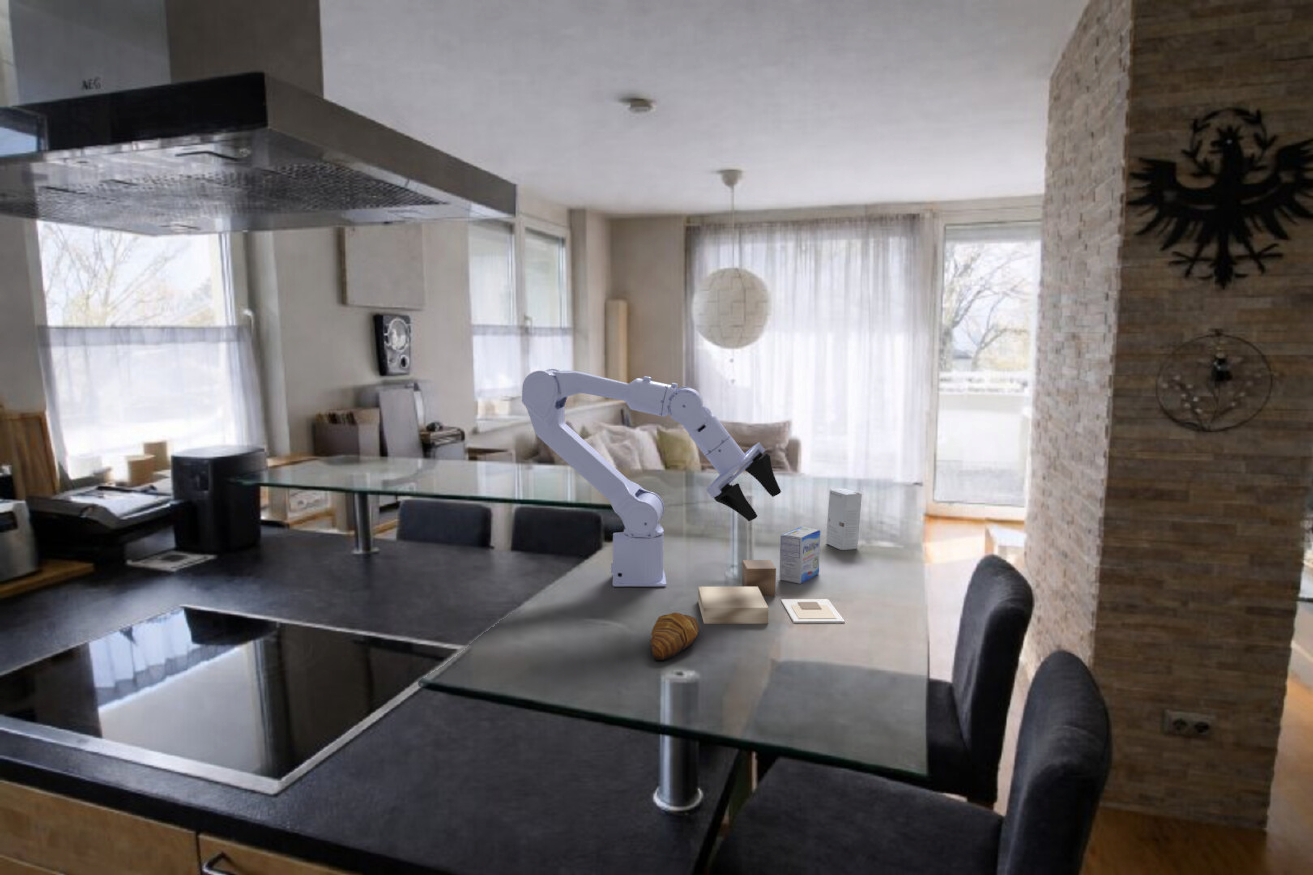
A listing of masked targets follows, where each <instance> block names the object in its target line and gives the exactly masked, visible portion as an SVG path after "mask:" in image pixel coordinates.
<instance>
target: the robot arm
mask: <svg viewBox="0 0 1313 875" xmlns="http://www.w3.org/2000/svg"><path fill="white" fill-rule="evenodd" d="M652 379H653V378H652V377H651V376H646V375H645V376H643V378H639V377H637V378H635V379H634V380H632V381H630V382H629V383H627V382H623V381H620V380H616V379H612V378H608V377H604V376H599V375H596V374H591V373H587V372H583V371H577V370H565V369H564V370H560V369H557V368H551V369H550V368H549V369H546V370H535V371H532V372H530V373H529V374H528V375H527V376H526V377H525V378H524V380H523V383H522V388H521V402H522V405H524V406H525V408H526V410H527V413H528V416H529V420H530V422H531V424H532V428H533V430H534V433H535V435H536V436H537V437H538V439H540V440H541V441H542V442H543V443H544V444H545V445H547V446H548V448H549V449H551V450H552V451H553V452H554V453H556V455H558V456H559V457H560V458H561V459H562V460H564V462H566V463H567V464H568V465H569V466H570V467H571V468H572V469H573V470H575V471H576V472H577V473H578V474H579V475H580V476H581V477H582V478H583V479H584V480H586V481H587V482H588V483H589V484H590V485H591V486H592V487H593V488H594V489H596V490H597V491H598V492H599V493H600V494H602V496H603V497H605V498H606V500H608V501H609V503H610V505H611V507H612V510H613V511H614V512H615V514H616V515H618V516H619V518H620V519H621V521H622V523H623V526H624V528H623V531H621V532H613V534H612V562H611V563H610V566H611V568H610V570H611V571H610V573H611V574H612V586H613V587H667V579H666V571H664V557H665V556H664V552H665V551H664V549H665V548H664V544H665V543H664V539H665V538H664V536H665V534H664V528H663V526H662V525H661V524H660V520H661V519H662V517H663V515H664V513H665V503H664V501H663V499H662V498H661V497H660V496H659V494H657V493H655V492H653V491H649V490H647V489H644V488H643V487H642V486H641V485H640V484H638V483H637V482H634V481H632V480H629V479H628V478H627V477H626V476H624V474H623V473H622V472H620V471H619V470H618V469H617V468H616V467H615V466H613V465H612V464H611V463H610V462H609V461H608V460H607V459H606V458H604V457H603V455H601V454H600V453H599V452H598V451H597V450H596V449H595V448H594V447H592V446H591V445H590V444H589V443H588V442H587V441H586V440H585V439H583V438H582V437H581V436H580V435H579V434H578V433H577V432H575V431H574V430H573V429H572V428H571V427H570V426H569V425H568V424H567V423H566V421H565V409H566V408H565V405H566V403H567V399H568V397H571V396H574V395H578V394H585V395H591V396H596V397H601V398H607V399H612V400H619V401H624V402H625V403H626V404H627V406H628V408H629V409H630V410H631V411H636V412H641V413H645V414H649V415H655V416H658V417H664V418H665V417H667V416H670V418H671V419H672V420H673V421H675V422H676V423H678V424H681V425H682V427H683V429H685V430H686V432H687V433H688V436H689V437H690V439H691V440H692V441H693V442H694V443H695V445H696V446H697V448H698V449H699V450H700V452H702V454H703V455H704V457H705V458H706V459H707V460H708V462H709V463H710V464H711V466H712V467H713V468H714V470H716V471H717V473H718V474H719V475H718V477H716V479H715V480H714V481H713V482H712V483H711V484H710V485H709V486H708V487H707V488H706V489H705V491H706V492H707V493H708V494H709V496H710V497H711V499H714V500H715V502H718V503H720V504H722V505H725V506H726V507H728V508H730V509H731V510H733V511H735V512H736V513H738V514H739V515H740V516H741V517H743V518H744V519H745V520H746V521H748V522H751V521H754V520H755V519H757V517H758V514H757V512H756V511H755V509H754V508H753V507H752V505H751V504H750V503H749V501H748V500H747V498H746V497H745V495H744V493H743V490H742V489H741V487H740V486H741V485H740V483H734V484H732V482H733V481H734V480H735V479H736V478H738V477H739V475H741V474H742V473H743V472H744V471H745V472H747V473H748V474H750V476H751V477H752V478H754V479H756V481H757V482H758V483H759V484H760V485H761V486H762V487H763V488H764V490H765V491H766V492H767V493H768V494H769V495H770V496H771V497H772V498H774V497H775V496H777V495H780V494H781V493H782V491H781V488H780V486H779V483H778V481H777V479H776V476H775V473H774V471H773V467H772V461H771V456H770V454H769V453H768V452H766V449H765V448H764V447H763V445H762V444H761V442H757V443H756V444H754V445H753V446H751V447H750V448H749V449H748V450H746V452H744V450H742V448H741V447H740V446H739V444H738V443H737V442H736V440H735V439H734V438H733V437H732V435H731V434H730V433H729V431H727V429H726V427H724V425H723V424H722V423H721V421H720V420H719V419H718V418H717V417H716V415H715V414H713V413H712V412H711V409H710V408H709V407H708V406H706V404H704V401H703V398H702V396H701V394H700V393H699V391H698V390H696V389H694V388H692V387H690V386H688V385H687V386H681V387H679V388H678V385H679V384H678V383H676V382H672V383H671V384H668V383H663V382H659V381H654V380H652Z"/></svg>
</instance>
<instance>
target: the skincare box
mask: <svg viewBox="0 0 1313 875" xmlns="http://www.w3.org/2000/svg"><path fill="white" fill-rule="evenodd" d="M862 495H863V494H862V493H860V492H858V491H855V490H852V489H848V488H846V487H840V488H832V489H829V495H828V496H829V498H828V509H827V510H828V511H827V524H826V525H827V526H826V540H825V543H826V544H827V545H829V546H831V547H833V548H835V549H838V550H840V551H849V550H856V549H858V548H859V547H858V546H859V545H858V543H859V532H860V521H861V520H860V519H861V509H862V497H863V496H862Z"/></svg>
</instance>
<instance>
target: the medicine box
mask: <svg viewBox="0 0 1313 875" xmlns="http://www.w3.org/2000/svg"><path fill="white" fill-rule="evenodd" d="M820 550H821V530H820V529H817V528H812V527H806V526H805V527H804V526H802V527H801V526H799V527H798V528H795V529H791V530H790V531H788V532H785V533H783V534H780V540H779V580H781V581H784V582H785V581H786V582H790V583H793V584H798V585H801V584H804V583H805V582H807V581H809V580H811V579H812V578H814V577H816V576H817V575H819V574H820V556H821V553H820V552H821V551H820Z"/></svg>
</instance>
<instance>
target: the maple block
mask: <svg viewBox="0 0 1313 875" xmlns="http://www.w3.org/2000/svg"><path fill="white" fill-rule="evenodd" d="M697 589H698V590H697V596H698V597H697V602H698V607H699V610H700V614H701V618H702V622H703V624H705V625H706V624H708V625H709V624H712V625H713V624H714V625H715V624H716V625H717V624H721V625H722V624H723V625H724V624H725V625H727V624H729V625H731V624H735V625H736V624H741V625H742V624H747V625H748V624H751V625H752V624H754V625H755V624H757V625H758V624H769V605H768V604H767V602H766V600H765V598H764V596H762V594H761V592H760V590H759V588H758V587H742V586H698V588H697Z"/></svg>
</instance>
